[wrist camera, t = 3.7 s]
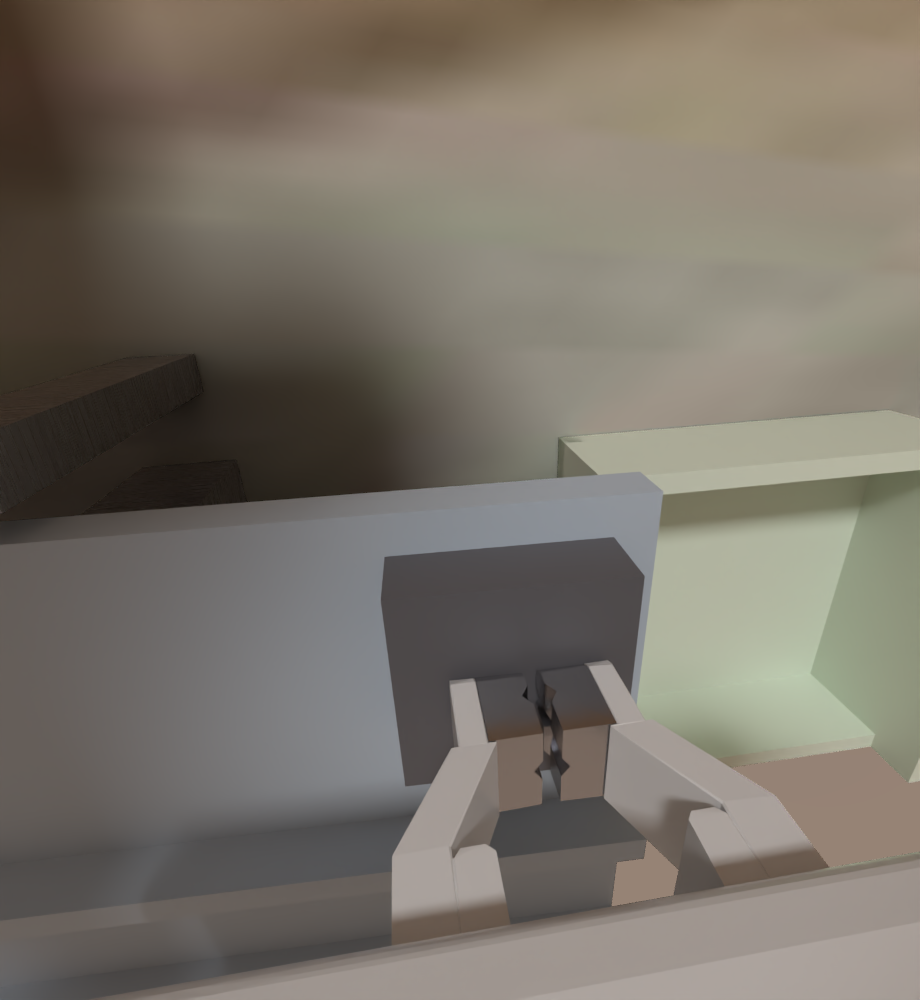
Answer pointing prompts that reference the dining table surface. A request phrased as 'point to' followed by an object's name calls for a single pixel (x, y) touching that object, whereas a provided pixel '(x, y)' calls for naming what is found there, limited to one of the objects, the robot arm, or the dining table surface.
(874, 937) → the robot arm
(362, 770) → the seesaw lever
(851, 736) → the bin
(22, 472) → the fulcrum stand
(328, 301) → the dining table surface
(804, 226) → the dining table surface
